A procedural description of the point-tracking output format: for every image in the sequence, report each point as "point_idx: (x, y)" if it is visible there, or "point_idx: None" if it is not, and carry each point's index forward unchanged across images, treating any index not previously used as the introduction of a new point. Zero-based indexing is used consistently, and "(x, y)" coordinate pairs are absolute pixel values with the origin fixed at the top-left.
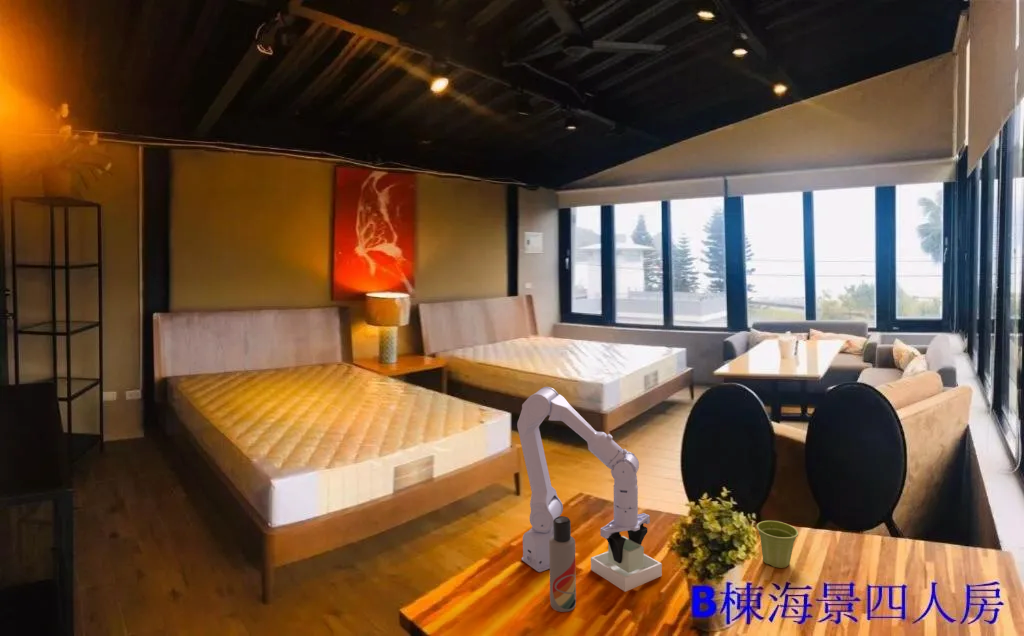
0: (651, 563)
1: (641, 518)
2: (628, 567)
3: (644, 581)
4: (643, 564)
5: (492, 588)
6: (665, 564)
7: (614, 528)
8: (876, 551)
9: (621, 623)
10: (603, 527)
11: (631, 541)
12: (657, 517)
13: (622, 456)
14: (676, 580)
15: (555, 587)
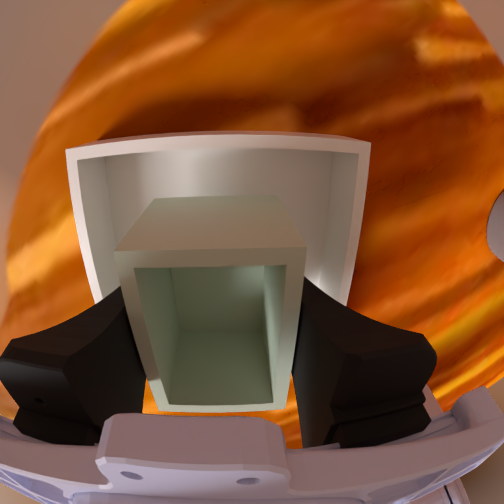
0: (94, 207)
1: (13, 477)
2: (282, 205)
3: (212, 131)
4: (153, 201)
5: (500, 347)
6: (33, 209)
7: (449, 469)
8: None
9: (471, 35)
10: (459, 475)
11: (151, 354)
12: None
13: None
14: (72, 79)
15: None
